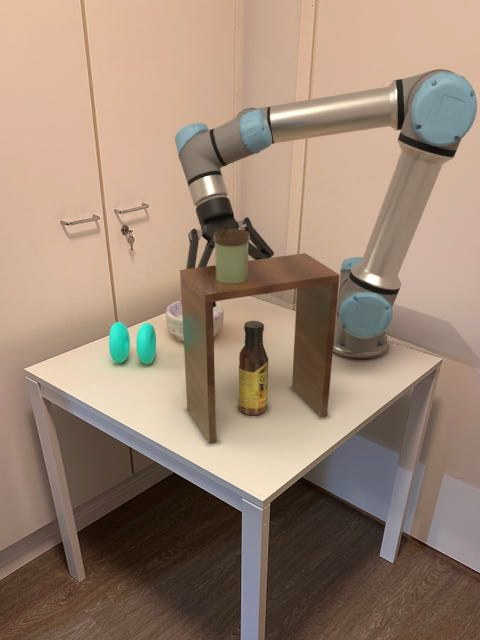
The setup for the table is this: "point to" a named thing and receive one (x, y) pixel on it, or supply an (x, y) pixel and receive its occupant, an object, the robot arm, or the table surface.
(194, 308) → the shelf
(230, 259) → the spice jar
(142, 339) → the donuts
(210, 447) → the table surface
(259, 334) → the sauce bottle
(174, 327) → the paper bowls
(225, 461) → the table surface
